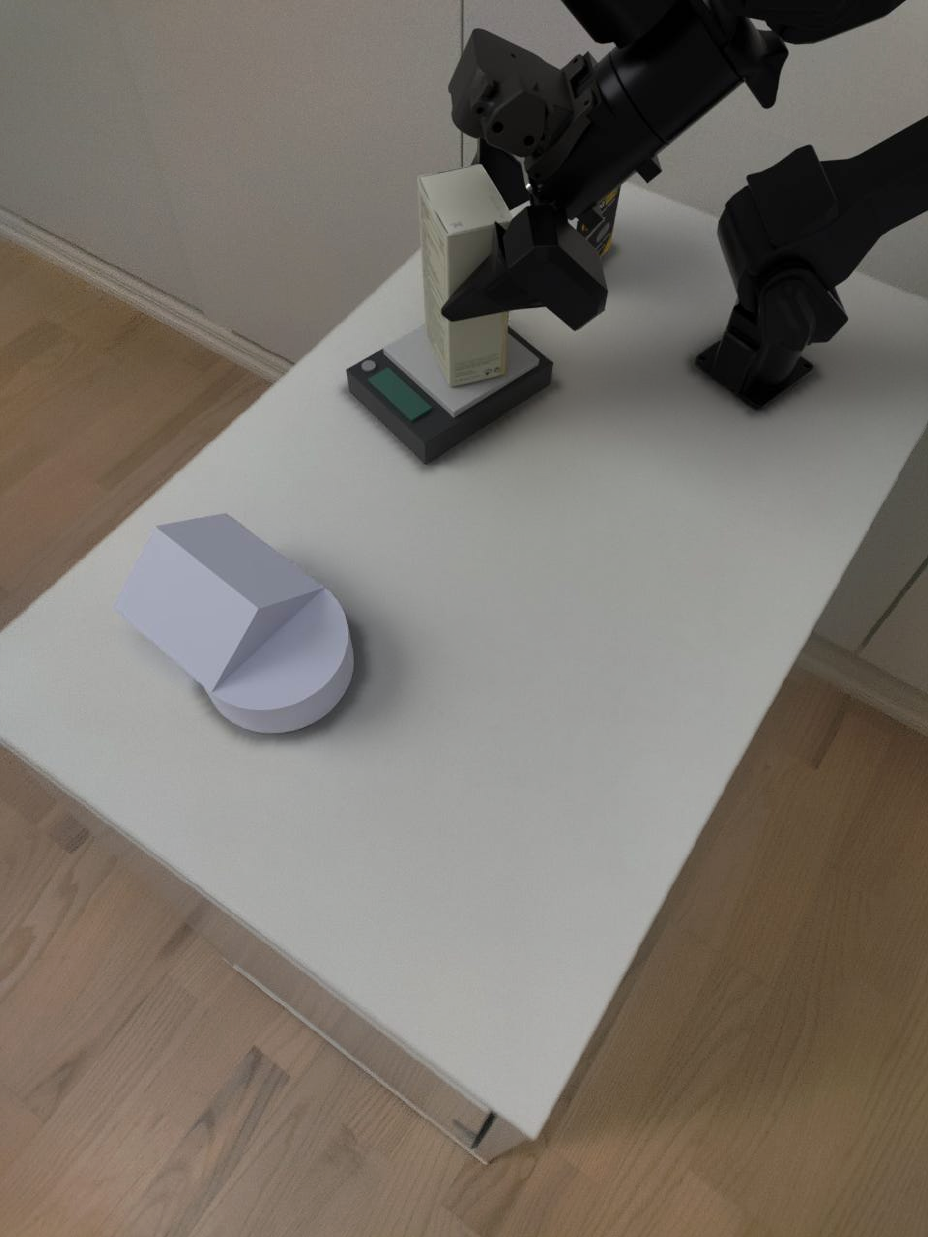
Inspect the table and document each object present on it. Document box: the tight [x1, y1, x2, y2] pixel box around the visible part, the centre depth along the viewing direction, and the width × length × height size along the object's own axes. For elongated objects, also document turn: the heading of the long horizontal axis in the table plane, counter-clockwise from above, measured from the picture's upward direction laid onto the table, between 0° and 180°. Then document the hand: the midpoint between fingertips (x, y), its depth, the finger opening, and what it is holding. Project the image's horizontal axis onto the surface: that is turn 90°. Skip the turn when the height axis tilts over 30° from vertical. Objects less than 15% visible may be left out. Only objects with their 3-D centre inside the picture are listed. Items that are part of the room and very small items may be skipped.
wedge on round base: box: [112, 512, 355, 734], centre depth 51 cm, size 9×7×13 cm
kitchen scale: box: [345, 323, 554, 465], centre depth 63 cm, size 12×9×3 cm
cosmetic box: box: [416, 164, 513, 387], centre depth 57 cm, size 6×4×12 cm
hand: (441, 276), depth 57 cm, fingers open, 7 cm apart
